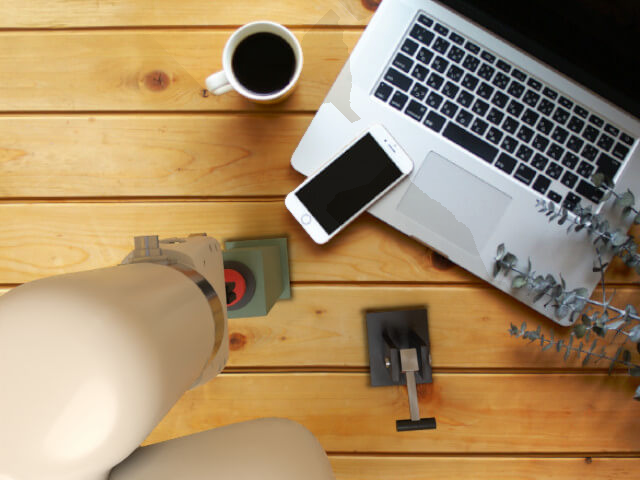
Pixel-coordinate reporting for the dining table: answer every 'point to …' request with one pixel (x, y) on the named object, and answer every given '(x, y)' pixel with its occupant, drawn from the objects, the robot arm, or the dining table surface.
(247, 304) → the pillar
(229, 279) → the stop button
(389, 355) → the bracket
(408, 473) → the dining table surface
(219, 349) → the robot arm
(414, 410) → the lever
